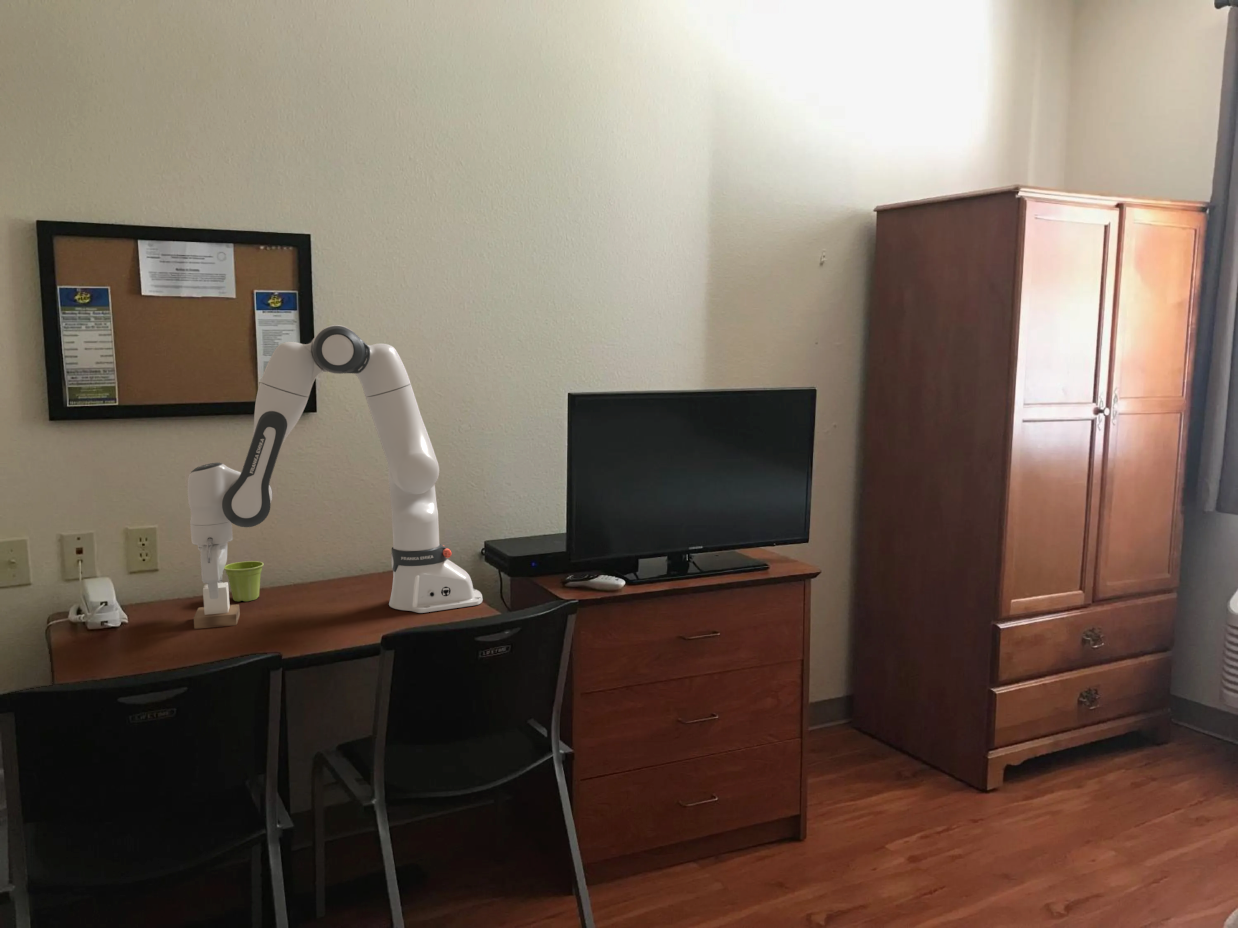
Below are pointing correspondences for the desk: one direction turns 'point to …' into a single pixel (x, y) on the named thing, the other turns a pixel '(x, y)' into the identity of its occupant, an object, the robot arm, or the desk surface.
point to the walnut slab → (216, 618)
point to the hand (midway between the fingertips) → (216, 592)
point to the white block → (216, 600)
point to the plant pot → (244, 579)
